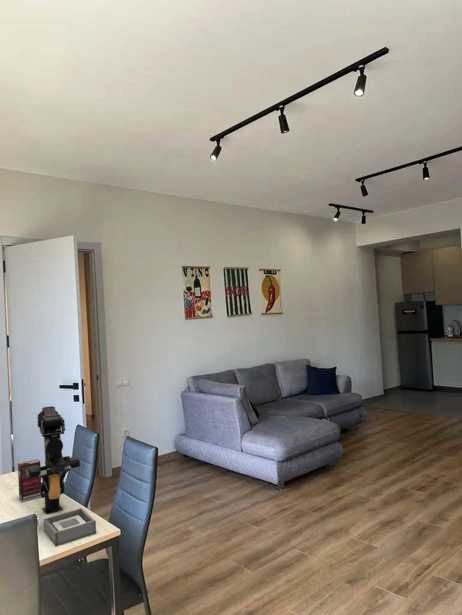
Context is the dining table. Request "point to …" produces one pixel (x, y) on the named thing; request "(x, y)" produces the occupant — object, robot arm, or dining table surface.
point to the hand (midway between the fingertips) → (54, 489)
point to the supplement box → (28, 482)
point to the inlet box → (69, 526)
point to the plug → (54, 486)
